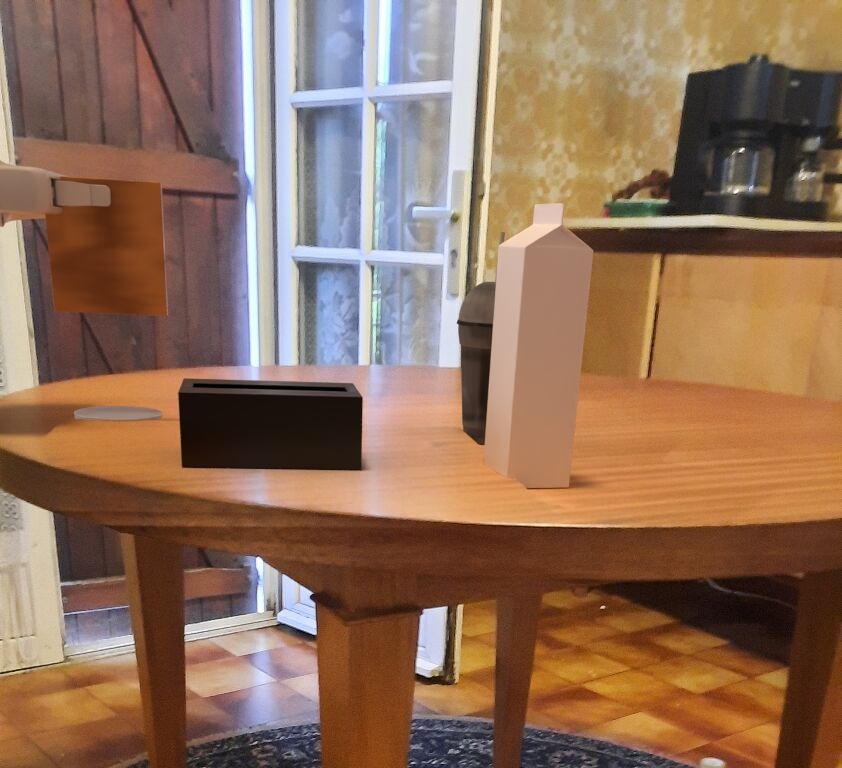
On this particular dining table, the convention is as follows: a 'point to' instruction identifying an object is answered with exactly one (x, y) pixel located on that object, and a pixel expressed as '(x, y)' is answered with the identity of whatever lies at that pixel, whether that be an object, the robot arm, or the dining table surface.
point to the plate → (118, 413)
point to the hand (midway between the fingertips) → (112, 196)
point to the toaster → (270, 425)
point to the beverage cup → (476, 355)
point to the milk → (537, 351)
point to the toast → (110, 252)
